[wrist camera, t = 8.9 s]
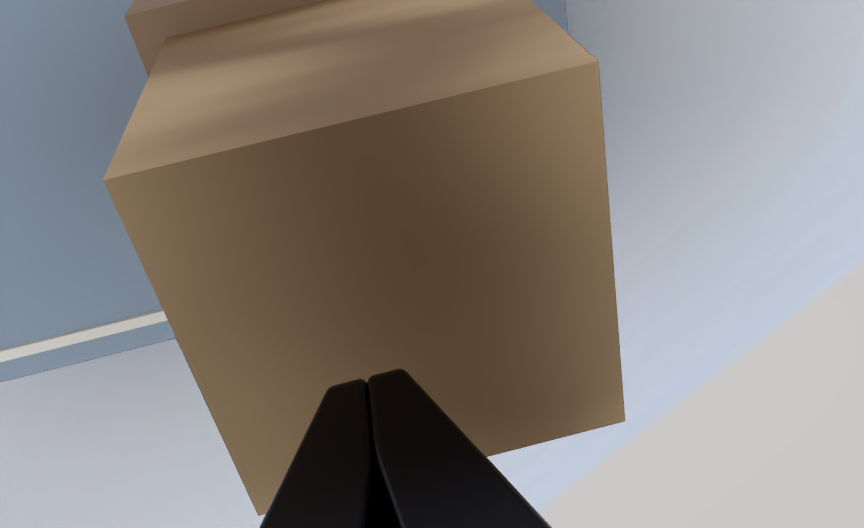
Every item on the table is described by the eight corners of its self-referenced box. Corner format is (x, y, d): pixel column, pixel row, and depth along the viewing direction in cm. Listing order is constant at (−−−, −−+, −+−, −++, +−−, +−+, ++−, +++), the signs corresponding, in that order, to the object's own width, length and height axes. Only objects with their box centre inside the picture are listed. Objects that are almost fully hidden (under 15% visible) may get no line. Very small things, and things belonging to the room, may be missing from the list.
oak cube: (265, 303, 15) (258, 515, 10) (166, 38, 12) (103, 180, 8) (527, 238, 15) (624, 421, 11) (488, -38, 12) (598, 61, 8)
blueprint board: (1, 360, 21) (-87, 542, 16) (-307, -125, 15) (-612, -75, 10) (575, 217, 22) (664, 349, 17) (520, -313, 15) (636, -357, 10)
